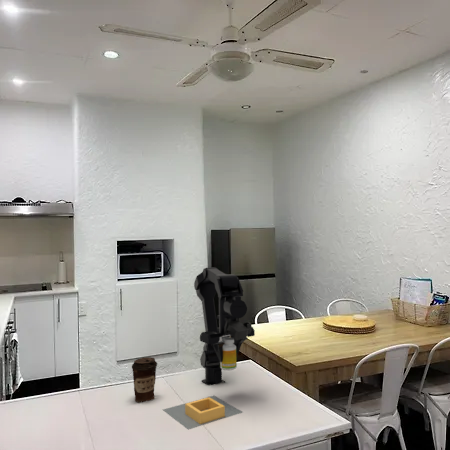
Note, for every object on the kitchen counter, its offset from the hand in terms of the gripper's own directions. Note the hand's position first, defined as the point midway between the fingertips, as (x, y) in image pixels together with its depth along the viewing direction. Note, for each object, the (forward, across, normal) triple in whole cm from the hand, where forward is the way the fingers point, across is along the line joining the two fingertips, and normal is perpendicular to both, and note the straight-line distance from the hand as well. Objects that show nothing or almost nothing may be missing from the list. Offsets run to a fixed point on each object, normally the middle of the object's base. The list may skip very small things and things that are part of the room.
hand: (228, 360), depth 137 cm
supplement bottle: (+3, 0, 0) cm, 3 cm away
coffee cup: (+13, -22, +16) cm, 30 cm away
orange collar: (+12, -14, -7) cm, 20 cm away
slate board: (+13, -13, -4) cm, 18 cm away
